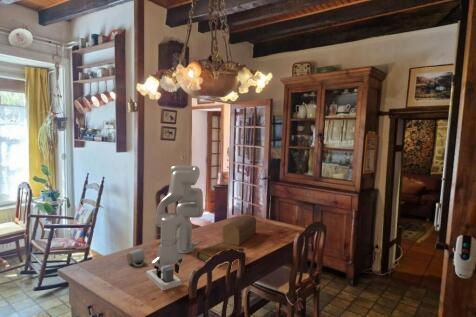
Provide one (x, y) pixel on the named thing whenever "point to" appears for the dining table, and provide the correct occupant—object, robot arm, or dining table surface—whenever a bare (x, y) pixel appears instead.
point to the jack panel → (159, 282)
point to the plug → (168, 273)
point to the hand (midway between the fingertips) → (168, 274)
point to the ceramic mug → (136, 257)
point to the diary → (215, 250)
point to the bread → (239, 230)
